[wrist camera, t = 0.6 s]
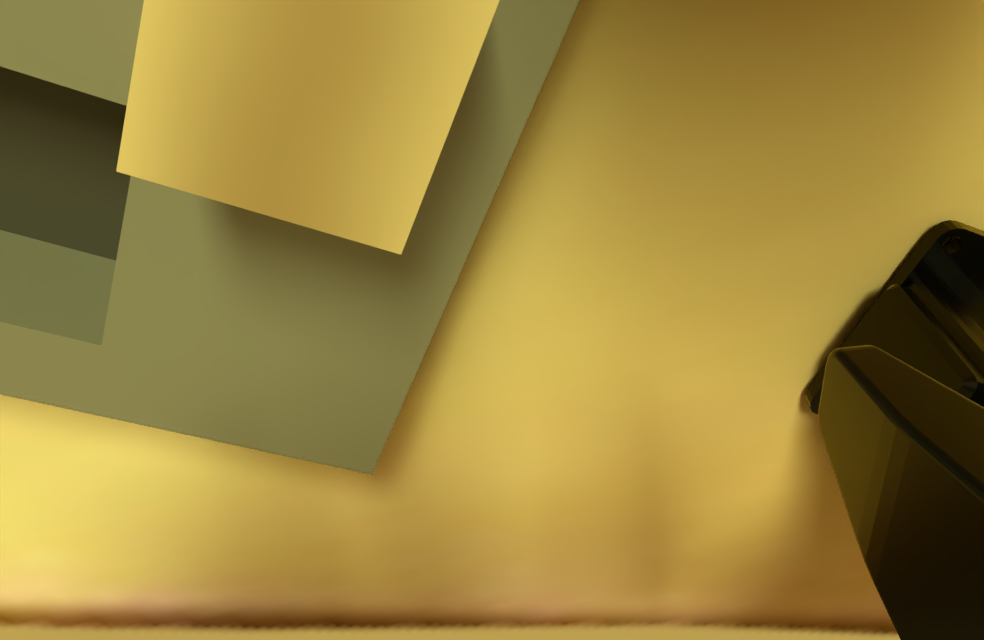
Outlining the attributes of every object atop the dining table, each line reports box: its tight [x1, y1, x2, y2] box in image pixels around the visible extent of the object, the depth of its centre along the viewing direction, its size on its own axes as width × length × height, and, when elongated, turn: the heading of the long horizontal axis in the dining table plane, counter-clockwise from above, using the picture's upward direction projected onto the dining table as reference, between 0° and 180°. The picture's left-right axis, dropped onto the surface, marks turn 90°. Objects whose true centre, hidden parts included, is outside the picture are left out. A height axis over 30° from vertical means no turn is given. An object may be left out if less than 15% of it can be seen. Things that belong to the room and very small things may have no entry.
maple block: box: [116, 0, 500, 255], centre depth 13 cm, size 4×4×4 cm
